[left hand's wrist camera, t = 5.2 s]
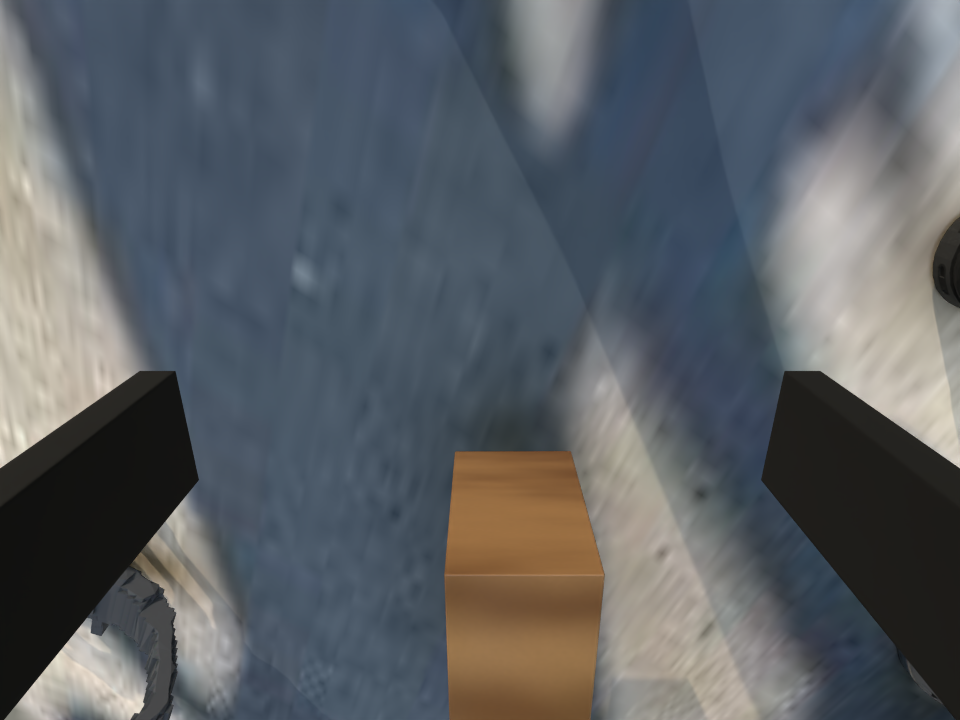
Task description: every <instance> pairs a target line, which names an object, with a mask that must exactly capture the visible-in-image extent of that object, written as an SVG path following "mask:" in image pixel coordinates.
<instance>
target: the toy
mask: <svg viewBox="0 0 960 720" xmlns="http://www.w3.org/2000/svg"><path fill="white" fill-rule="evenodd" d="M163 593H164V589H163V588H161V587H159V584H156V583H154V582H152V581H150V580H148V579H146V578H145V577H143V576H142V575H141V571H138V570H136V569H134V568H132V567H130V566H129V567H128V568H127V569H126V570H125V571H124V573H123V574H122V575H121V576H120V578H119V579H118V580H117V581H116V583H115V584H114V585H113V586H112V587H111V589H110V590H109V591H108V592H107V594H106V595H105V596H104V597H103V599H102V600H101V601H100V602H99V603H98V605H97V606H96V607H95V608H94V610H93V611H92V612H91V613H90V615H89V616H88V617H87V618H91V619H92V626H91V633H92V634H96V635H99V636H102V634H103V633H104V631H105V630H106V628H107V627H108V625H113V624H114V625H117V626H120V628H119V630H122V631H125V635H128V636H131V638H133V639H134V641H135V642H137V643H138V646H137V647H139V648H140V650H139V651H142V652H146V653H145V654H147V655H149V658H148V661H147V664H146V666H145V669H146V670H147V673H146V674H148V677H147V680H146V682H148V685H147V688H146V693H145V697H144V701H143V702H144V703H145V704H144V706H143V708H142V710H141V712H140V713H139V714H138V713H134V715H133V717H132V718H131V720H169V719H170V715H171V712H172V709H173V706H174V705H171V703H172V700H173V697H174V696H172V695H171V693H172V689H173V686H174V683H175V679H176V676H177V673H178V671H177V669H176V668H177V664H176V660H177V657H178V656H176V652H177V649H178V648H176V644H177V640H175V637H176V636H175V635H174V633H175V628H173V626H174V625H173V623H174V619H175V616H176V612H174V608H171V607H168V606H169V603H167V599H166V598H165V597H164V595H163Z"/></svg>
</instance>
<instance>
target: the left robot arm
mask: <svg viewBox="0 0 960 720" xmlns="http://www.w3.org/2000/svg"><path fill="white" fill-rule="evenodd" d="M198 480H199V479H198V474H197V469H196V465H195V460H194V455H193V451H192V446H191V441H190V437H189V432H188V428H187V423H186V418H185V414H184V409H183V404H182V400H181V395H180V390H179V386H178V381H177V376H176V372H175V371H139V372H138V373H136V374H135V375H133V376H132V377H131V378H129V379H128V380H126V381H125V382H123V383H122V384H121V385H119V386H118V387H116V388H115V389H113V390H112V391H111V392H109V393H108V394H106V395H105V396H103V397H102V398H101V399H99V400H98V401H96V402H95V403H93V404H92V405H90V406H89V407H88V408H86V409H85V410H83V411H82V412H80V413H79V414H78V415H76V416H75V417H73V418H72V419H70V420H69V421H68V422H66V423H65V424H63V425H62V426H60V427H59V428H58V429H56V430H55V431H53V432H52V433H50V434H49V435H47V436H46V437H45V438H43V439H42V440H40V441H39V442H37V443H36V444H35V445H33V446H32V447H30V448H29V449H27V450H26V451H25V452H23V453H22V454H20V455H19V456H17V457H16V458H14V459H13V460H12V461H10V462H9V463H7V464H6V465H4V466H3V467H2V468H0V720H4V719H5V718H6V717H7V715H8V714H9V713H10V712H11V711H12V709H13V708H14V707H15V706H16V704H17V703H18V702H19V701H20V699H21V698H22V697H23V696H24V695H25V693H26V692H27V691H28V690H29V688H30V687H31V686H32V685H33V683H34V682H35V681H36V680H37V679H38V677H39V676H40V675H41V674H42V672H43V671H44V670H45V669H46V667H47V666H48V665H49V664H50V663H51V661H52V660H53V659H54V658H55V656H56V655H57V654H58V653H59V651H60V650H61V649H62V648H63V647H64V645H65V644H66V643H67V642H68V640H69V639H70V638H71V637H72V635H73V634H74V633H75V632H76V631H77V629H78V628H79V627H80V626H81V624H82V623H83V622H84V621H85V619H86V618H87V617H88V616H89V615H90V613H91V612H92V611H93V610H94V608H95V607H96V606H97V605H98V603H99V602H100V601H101V600H102V599H103V597H104V596H105V595H106V594H107V592H108V591H109V590H110V589H111V587H112V586H113V585H114V584H115V583H116V581H117V580H118V579H119V578H120V576H121V575H122V574H123V573H124V571H125V570H126V569H127V568H128V567H129V565H130V564H131V563H132V562H133V560H134V559H135V558H136V557H137V555H138V554H139V553H140V552H141V551H142V549H143V548H144V547H145V546H146V544H147V543H148V542H149V541H150V539H151V538H152V537H153V536H154V535H155V533H156V532H157V531H158V530H159V528H160V527H161V526H162V525H163V523H164V522H165V521H166V520H167V519H168V517H169V516H170V515H171V514H172V512H173V511H174V510H175V509H176V507H177V506H178V505H179V504H180V503H181V501H182V500H183V499H184V498H185V496H186V495H187V494H188V493H189V491H190V490H191V489H192V488H193V487H194V485H195V484H196V483H197V482H198ZM761 480H762V482H763V483H764V484H765V485H766V487H767V488H768V489H769V490H770V491H771V493H772V494H773V495H774V496H775V498H776V499H777V500H778V501H779V503H780V504H781V505H782V506H783V507H784V509H785V510H786V511H787V512H788V514H789V515H790V516H791V517H792V519H793V520H794V521H795V522H796V523H797V525H798V526H799V527H800V528H801V530H802V531H803V532H804V533H805V535H806V536H807V537H808V538H809V539H810V541H811V542H812V543H813V544H814V546H815V547H816V548H817V549H818V551H819V552H820V553H821V554H822V555H823V557H824V558H825V559H826V560H827V562H828V563H829V564H830V565H831V567H832V568H833V569H834V570H835V571H836V573H837V574H838V575H839V576H840V578H841V579H842V580H843V581H844V583H845V584H846V585H847V586H848V587H849V589H850V590H851V591H852V592H853V594H854V595H855V596H856V597H857V599H858V600H859V601H860V602H861V603H862V605H863V606H864V607H865V608H866V610H867V611H868V612H869V613H870V615H871V616H872V617H873V618H874V619H875V621H876V622H877V623H878V624H879V626H880V627H881V628H882V629H883V631H884V632H885V633H886V634H887V635H888V637H889V638H890V639H891V640H892V642H893V643H894V644H895V645H896V647H897V648H898V649H899V650H900V651H901V653H902V654H903V655H904V656H905V658H906V659H907V660H908V661H909V663H910V664H911V665H912V666H913V667H914V669H915V670H916V671H917V672H918V674H919V675H920V676H921V677H922V679H923V680H924V681H925V682H926V683H927V685H928V686H929V687H930V688H931V690H932V691H933V692H934V693H935V695H936V696H937V697H938V698H939V699H940V701H941V702H942V703H943V704H944V706H945V707H946V708H947V709H948V711H949V712H950V713H951V714H952V715H953V717H954V718H955V719H956V720H960V468H958V467H957V466H956V465H954V464H953V463H951V462H950V461H948V460H947V459H946V458H944V457H943V456H941V455H940V454H938V453H937V452H935V451H934V450H933V449H931V448H930V447H928V446H927V445H925V444H924V443H923V442H921V441H920V440H918V439H917V438H915V437H914V436H913V435H911V434H910V433H908V432H907V431H905V430H904V429H903V428H901V427H900V426H898V425H897V424H895V423H894V422H892V421H891V420H890V419H888V418H887V417H885V416H884V415H882V414H881V413H880V412H878V411H877V410H875V409H874V408H872V407H871V406H870V405H868V404H867V403H865V402H864V401H862V400H861V399H859V398H858V397H857V396H855V395H854V394H852V393H851V392H849V391H848V390H847V389H845V388H844V387H842V386H841V385H839V384H838V383H837V382H835V381H834V380H832V379H831V378H829V377H828V376H827V375H825V374H824V373H822V372H821V371H785V372H784V376H783V381H782V386H781V390H780V395H779V400H778V404H777V409H776V414H775V418H774V423H773V428H772V432H771V437H770V441H769V446H768V451H767V455H766V460H765V465H764V469H763V474H762V479H761Z"/></svg>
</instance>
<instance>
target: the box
mask: <svg viewBox="0 0 960 720" xmlns="http://www.w3.org/2000/svg"><path fill="white" fill-rule="evenodd" d="M444 577H445V605H446V633H447V661H448V689H449V716H450V720H590V718H591V708H592V698H593V688H594V678H595V668H596V658H597V648H598V638H599V627H600V617H601V607H602V597H603V587H604V577H605V574H604V570H603V567H602V563H601V560H600V556H599V552H598V549H597V545H596V541H595V538H594V534H593V530H592V527H591V523H590V519H589V516H588V512H587V508H586V505H585V501H584V497H583V494H582V490H581V486H580V483H579V479H578V476H577V472H576V468H575V465H574V461H573V457H572V454H571V452H570V451H467V452H455V458H454V470H453V481H452V493H451V504H450V516H449V528H448V539H447V551H446V562H445V574H444Z"/></svg>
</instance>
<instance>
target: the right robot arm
mask: <svg viewBox="0 0 960 720" xmlns="http://www.w3.org/2000/svg"><path fill="white" fill-rule="evenodd" d="M898 654H899V658H900V661H901V663H902V665H903V667H904V668H905V669H906V671H907V672H908V673H909V674H910V676H911V677H912V678H913V679H914V681H915V682H916V683H917V685H918V686H919V687H920V688H921V689H922V690H924V691H925V692H926V693H927V694H928V695H929V696H931V697H932V698H933V699H935V700H936V701H938V702H939V703H941V704H943V703H942V702H941V701H940V699H939V698H938V697H937V696H936V695H935V693H934V692H933V691H932V690H931V688H930V687H929V686H928V685H927V683H926V682H925V681H924V680H923V679H922V677H921V676H920V675H919V674H918V672H917V671H916V670H915V669H914V667H913V666H912V665H911V664H910V663H909V661H908V660H907V659H906V658H905V656H904V655H903V654H902V653H901V651H900V650H899V649H898ZM943 705H944V704H943Z"/></svg>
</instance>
